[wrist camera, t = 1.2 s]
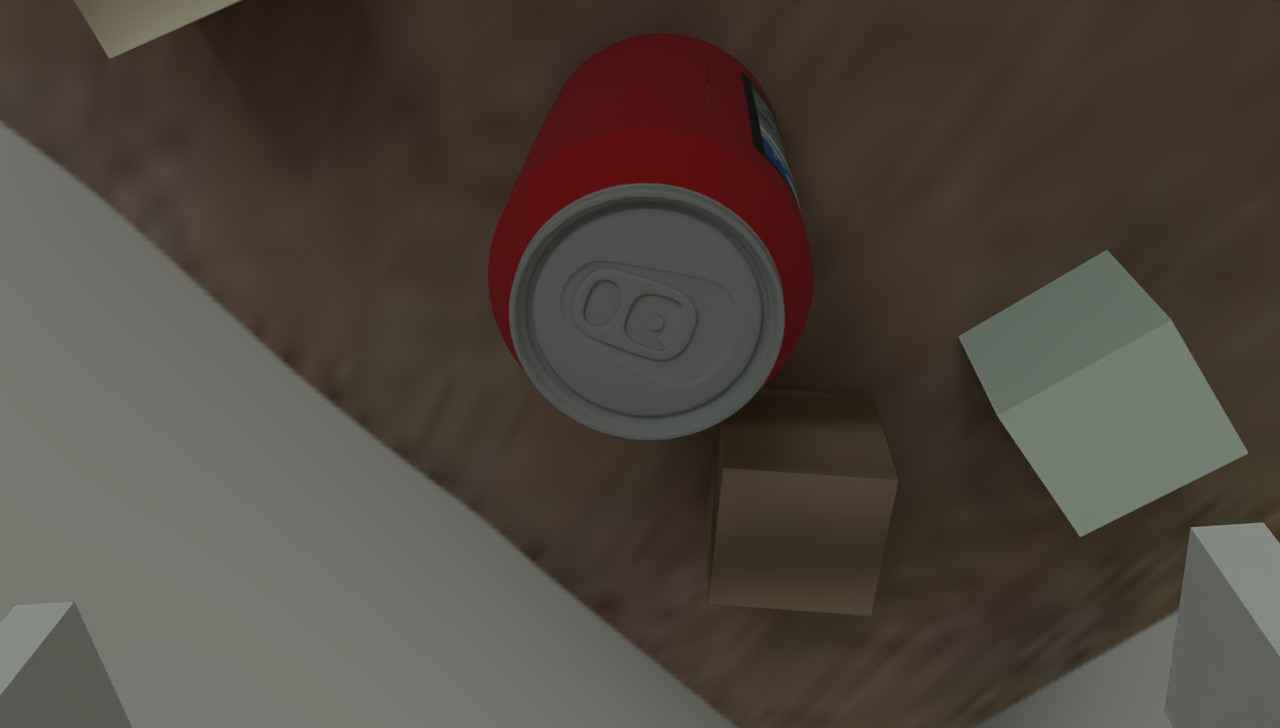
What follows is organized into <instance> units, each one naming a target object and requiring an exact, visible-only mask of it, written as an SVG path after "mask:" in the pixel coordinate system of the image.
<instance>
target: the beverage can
mask: <svg viewBox="0 0 1280 728" xmlns="http://www.w3.org/2000/svg"><path fill="white" fill-rule="evenodd" d="M488 286H489V294H490V300H491V305H492V310H493V313H494V316H495V319H496V323H497V325H498V328H499V330H500V332H501V335H502V337H503V339H504V341H505V343H506V345H507V346H508V348H509V350H510V352H511V353H512V355H513V356H514V358H515V359H516V361H517V362H518V363H519V365H520V366H521V367H522V368H523V370H524V371H525V372H526V374H527V376H528V377H529V379H530V380H531V382H532V383H533V384H534V386H535V387H536V388H537V389H538V390H539V392H540V393H541V394H542V395H543V396H544V397H545V398H546V399H547V400H548V401H549V402H550V403H551V404H553V405H554V406H555V407H556V408H557V409H558V410H560V411H561V412H562V413H564V414H565V415H567V416H568V417H570V418H571V419H573V420H575V421H577V422H578V423H580V424H582V425H584V426H587V427H589V428H591V429H594V430H596V431H599V432H601V433H605V434H608V435H612V436H616V437H621V438H627V439H635V440H663V439H672V438H677V437H682V436H687V435H691V434H694V433H697V432H700V431H702V430H705V429H707V428H710V427H712V426H714V425H716V424H718V423H720V422H722V421H723V420H725V419H727V418H728V417H730V416H731V415H733V414H734V413H735V412H737V411H738V410H739V409H740V408H742V407H743V406H744V405H745V404H746V403H748V402H749V401H750V399H751V398H752V397H753V396H754V395H755V394H756V393H757V392H758V391H759V390H761V389H762V388H763V387H764V386H765V385H766V384H767V383H768V382H769V381H770V380H771V379H772V378H773V377H774V376H775V375H776V374H777V373H778V371H779V370H780V369H781V368H782V366H783V365H784V364H785V362H786V361H787V359H788V358H789V356H790V355H791V353H792V352H793V350H794V348H795V347H796V345H797V343H798V341H799V339H800V337H801V334H802V332H803V330H804V327H805V324H806V321H807V318H808V314H809V310H810V305H811V299H812V291H813V270H812V261H811V254H810V249H809V244H808V240H807V236H806V231H805V227H804V222H803V218H802V214H801V209H800V205H799V201H798V198H797V194H796V190H795V186H794V182H793V178H792V174H791V170H790V166H789V163H788V159H787V155H786V152H785V148H784V144H783V141H782V138H781V134H780V131H779V128H778V125H777V121H776V118H775V115H774V112H773V110H772V107H771V105H770V102H769V100H768V98H767V96H766V94H765V93H764V91H763V89H762V88H761V86H760V85H759V83H758V82H757V80H756V79H755V78H754V77H753V76H752V74H751V73H750V72H749V71H748V70H747V69H746V68H745V67H744V66H743V65H742V64H741V63H739V62H738V61H737V60H736V59H735V58H733V57H732V56H730V55H729V54H727V53H726V52H724V51H723V50H721V49H719V48H717V47H715V46H713V45H711V44H709V43H706V42H704V41H701V40H698V39H695V38H691V37H686V36H681V35H673V34H651V35H643V36H638V37H633V38H630V39H626V40H623V41H620V42H618V43H616V44H613V45H611V46H609V47H607V48H605V49H603V50H601V51H600V52H598V53H597V54H595V55H594V56H592V57H591V58H590V59H589V60H587V61H586V62H585V63H584V64H583V65H582V66H581V67H579V68H578V69H577V70H576V72H575V73H574V74H573V75H572V76H571V77H570V79H569V80H568V81H567V83H566V84H565V85H564V87H563V89H562V90H561V92H560V94H559V95H558V97H557V99H556V101H555V103H554V105H553V107H552V108H551V110H550V112H549V114H548V116H547V118H546V120H545V122H544V124H543V126H542V128H541V130H540V132H539V134H538V136H537V138H536V140H535V143H534V145H533V147H532V149H531V151H530V153H529V155H528V157H527V159H526V162H525V164H524V166H523V168H522V170H521V172H520V174H519V176H518V179H517V181H516V183H515V185H514V188H513V190H512V192H511V195H510V197H509V199H508V202H507V204H506V206H505V208H504V211H503V213H502V215H501V218H500V220H499V223H498V225H497V228H496V231H495V233H494V237H493V241H492V245H491V250H490V256H489V266H488Z"/></svg>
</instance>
